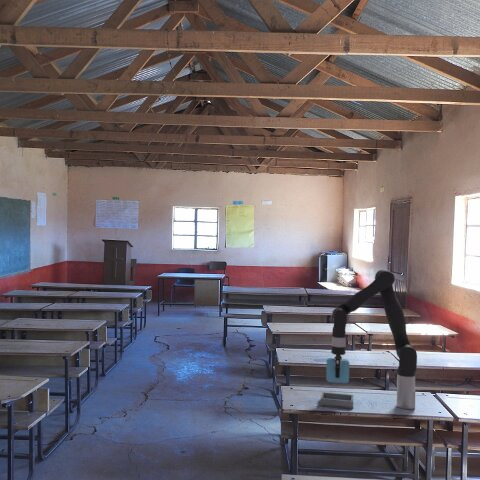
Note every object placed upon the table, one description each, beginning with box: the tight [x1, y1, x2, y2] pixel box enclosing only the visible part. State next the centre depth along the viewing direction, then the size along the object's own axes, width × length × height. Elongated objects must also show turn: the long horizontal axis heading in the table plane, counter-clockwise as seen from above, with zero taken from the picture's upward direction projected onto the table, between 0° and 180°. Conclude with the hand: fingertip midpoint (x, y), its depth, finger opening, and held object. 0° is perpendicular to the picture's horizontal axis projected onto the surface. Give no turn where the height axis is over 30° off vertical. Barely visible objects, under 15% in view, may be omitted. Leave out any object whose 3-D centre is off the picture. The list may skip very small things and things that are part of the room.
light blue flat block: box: [325, 357, 350, 384], centre depth 272 cm, size 12×4×12 cm, turn 80°
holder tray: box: [319, 391, 354, 410], centre depth 272 cm, size 17×12×4 cm
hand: (337, 376), depth 272 cm, fingers closed on light blue flat block, 4 cm apart
